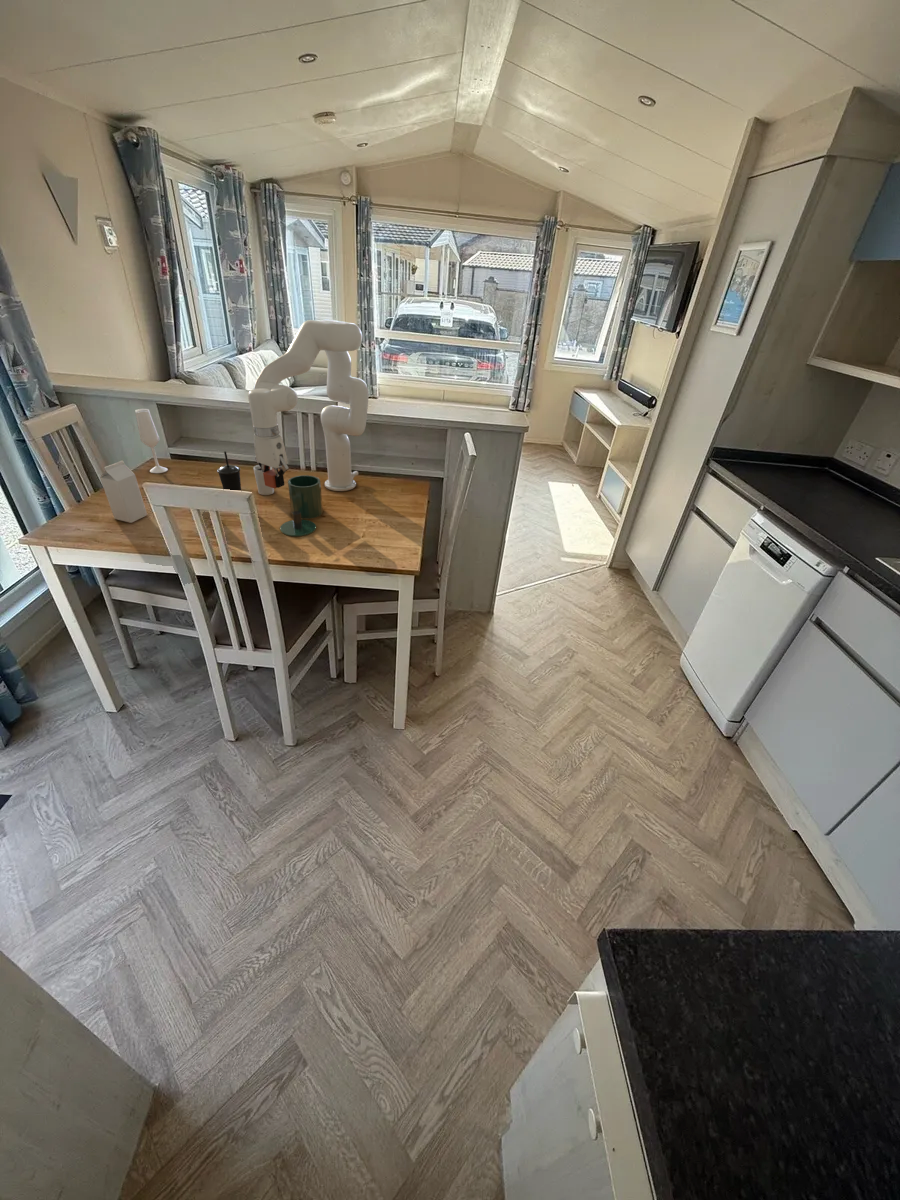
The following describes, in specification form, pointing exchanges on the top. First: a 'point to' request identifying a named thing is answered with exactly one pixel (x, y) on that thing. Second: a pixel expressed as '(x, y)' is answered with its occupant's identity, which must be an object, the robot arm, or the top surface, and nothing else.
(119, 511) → the milk carton
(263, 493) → the drinking glass
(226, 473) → the drinking cup
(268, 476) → the block
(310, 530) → the lid
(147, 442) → the champagne flute
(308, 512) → the canister
